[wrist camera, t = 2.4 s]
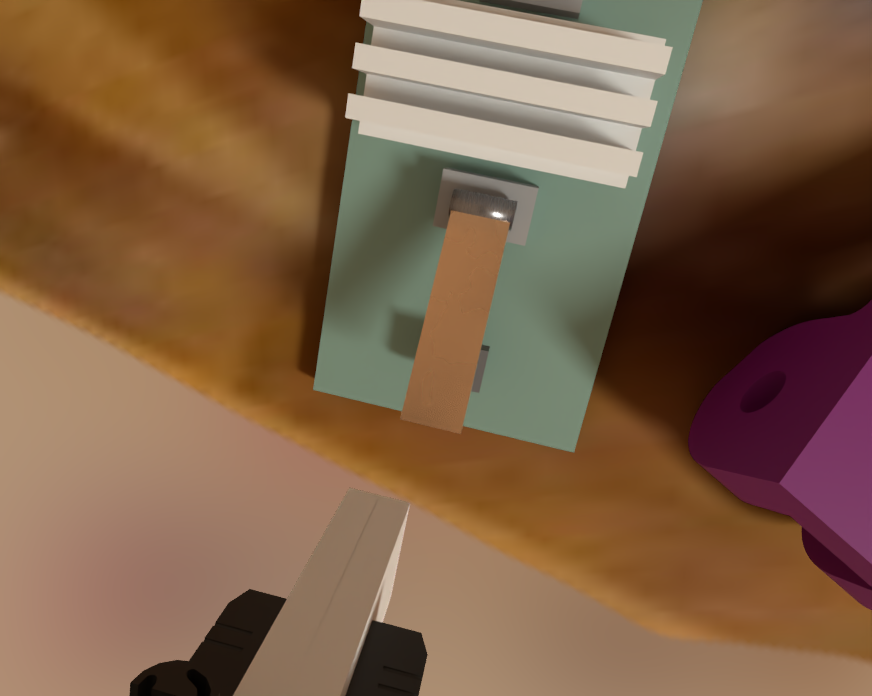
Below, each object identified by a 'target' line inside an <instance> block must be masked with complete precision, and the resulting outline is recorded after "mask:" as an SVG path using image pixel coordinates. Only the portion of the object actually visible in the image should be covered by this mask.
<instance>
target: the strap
mask: <svg viewBox="0 0 872 696" xmlns="http://www.w3.org/2000/svg"><path fill="white" fill-rule="evenodd" d="M517 203H518V201H515V200H510V199H505V198H500V197H496V196H491V195H486V194H481V193H477V192H472V191H467V190H462V189H458V188H454V190H453V193H452V197H451V201H450V206H449V213H448V217H449V222H448V226H447V230H446V234H445V238H444V242H443V246H442V250H441V254H440V258H439V262H438V267H437V271H436V275H435V279H434V283H433V287H432V291H431V295H430V299H429V303H428V307H427V311H426V315H425V319H424V324H423V328H422V332H421V336H420V340H419V344H418V348H417V352H416V356H415V360H414V364H413V368H412V372H411V376H410V381H409V385H408V389H407V393H406V397H405V401H404V405H403V409H402V413H401V417H400V419H401V420H406V421H410V422H414V423H418V424H422V425H426V426H430V427H434V428H439V429H443V430H447V431H451V432H455V433H459V434H461V432H462V428H463V423H464V419H465V415H466V411H467V406H468V402H469V398H470V393H471V389H472V385H473V381H474V376H475V372H476V368H477V364H478V359H479V355H480V351H481V347H482V342H483V338H484V334H485V329H486V325H487V321H488V317H489V312H490V308H491V304H492V300H493V295H494V291H495V287H496V282H497V278H498V274H499V270H500V265H501V261H502V257H503V253H504V248H505V244H506V240H507V236H508V231H509V230H510V231H511V229H512V225H513V221H514V217H515V212H516V208H517Z"/></svg>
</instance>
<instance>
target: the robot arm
mask: <svg viewBox="0 0 872 696" xmlns="http://www.w3.org/2000/svg"><path fill="white" fill-rule="evenodd" d="M409 507H410V503H409V502H405V501H401V500H397V499H393V498H389V497H385V496H381V495H377V494H373V493H369V492H365V491H361V490H357V489H353V488H349V489H348V491H347V493H346V495H345V496H344V498H343V500H342V502H341V504H340V505H339V507H338V509H337V511H336V513H335V514H334V516H333V518H332V520H331V521H330V523H329V525H328V527H327V528H326V530H325V532H324V534H323V536H322V537H321V539H320V541H319V543H318V545H317V546H316V548H315V550H314V552H313V554H312V555H311V557H310V559H309V561H308V562H307V564H306V566H305V568H304V570H303V571H302V573H301V575H300V577H299V578H298V580H297V582H296V584H295V586H294V588H293V589H292V591H291V593H290V595H289V596H288V598H287V599H285V598H281V597H278V596H274V595H270V594H266V593H263V592H259V591H255V590H251V589H249V590H248V591H246V592H245V593H243V594H242V595H240V596H239V597H237V598H236V599H234V600H232V601H231V602H229V603H228V605H227V606H226V608H225V609H224V611H223V612H222V614H221V615H220V616H219V618H218V619H217V621H216V623H215V626H213V627H212V628H211V630H210V631H209V633H208V634H207V635H206V637H205V640H204V642H202V643H201V644H200V646H199V647H198V649H197V650H196V652H195V653H194V655H193V656H192V658H191V659H190V661H181V660H175V661H169V662H164V663H159V664H157V665H155V666H153V667H150V668H148V669H146V670H144V671H143V672H142V673H140V674H139V675H138V676H137V677H136V678H135V679H134V680H133V681H132V682H131V683H130V696H418V695H419V690H420V685H421V681H422V677H423V672H424V667H425V663H426V658H427V652H426V648H425V645H424V641H423V638H422V634H421V633H419V632H416V631H412V630H408V629H404V628H401V627H397V626H393V625H389V624H385V623H383V619H384V617H385V613H386V610H387V607H388V604H389V601H390V598H391V594H392V589H393V584H394V579H395V574H396V570H397V565H398V560H399V555H400V550H401V545H402V540H403V535H404V531H405V526H406V521H407V516H408V511H409Z"/></svg>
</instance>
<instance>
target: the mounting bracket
mask: <svg viewBox="0 0 872 696" xmlns="http://www.w3.org/2000/svg"><path fill="white" fill-rule="evenodd" d="M688 446H689V451H690V454H691V456H692V457H693V459H694V460H695V461H696V462H697V463H698V464H700V465H701V466H702V467H703V468H704V469H705V470H707V471H708V472H709V473H710V474H711V475H712V476H713V477H715V478H716V479H717V480H718V481H719V482H720V483H722V484H723V485H724V486H725V487H726V488H727V489H728V490H730V491H731V492H732V493H733V494H734V495H735V496H737V497H738V498H739V499H740V500H742V501H744V502H746V503H749V504H752V505H755V506H758V507H762V508H765V509H768V510H772V511H775V512H778V513H782V514H785V515H789V516H791V517H792V518H793V519H794V520H795V521H796V522H797V523H799V524H800V525H801V526H802V540H803V545H804V548H805V551H806V553H807V555H808V556H809V558H810V559H811V560H812V562H813V563H814V564H815V565H816V566H817V567H819V568H820V569H821V570H822V571H823V572H824V573H825V574H827V575H828V576H829V577H830V578H831V579H832V580H834V581H835V582H836V583H837V584H838V585H839V586H840V587H842V588H843V589H844V590H845V591H846V592H847V593H849V594H850V595H851V596H852V597H853V598H854V599H855V600H857V601H858V602H859V603H860V604H862V605H863V606H865V607H866V608H868V609H870V610H872V299H871V301H870V302H869V303H868V304H867V305H865V306H864V307H863V308H862V309H860V310H859V311H857V312H855V313H853V314H850V315H846V316H839V317H831V318H823V319H816V320H810V321H806V322H803V323H800V324H797V325H794V326H792V327H789V328H787V329H785V330H783V331H781V332H779V333H777V334H775V335H773V336H772V337H770V338H768V339H767V340H765V341H764V342H762V343H761V344H760V345H758V346H757V347H756V348H755V349H754V350H753V351H752V352H751V353H750V354H749V355H747V356H746V357H745V358H744V359H743V360H742V361H741V362H740V363H739V364H737V365H736V366H735V367H734V368H733V369H732V370H731V371H730V372H729V373H728V374H726V375H725V376H724V377H723V378H722V379H721V380H720V381H719V382H718V383H716V385H715V386H714V387H713V388H712V390H711V391H710V392H709V394H708V395H707V396H706V398H705V399H704V401H703V402H702V404H701V406H700V407H699V409H698V411H697V413H696V415H695V417H694V420H693V422H692V425H691V428H690V432H689V439H688Z"/></svg>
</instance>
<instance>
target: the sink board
mask: <svg viewBox="0 0 872 696" xmlns="http://www.w3.org/2000/svg"><path fill="white" fill-rule="evenodd" d="M702 2H703V0H362V1H361V8H360V15H359V16H360V17H361V18H363V19H364V20H366V27H365V34H364V41H363V44H361V43H355V50H354V57H353V65H352V68H353V69H356V70H358V71H359V76H358V83H357V90H356V95H355V94H350V93H348V100H347V107H346V114H345V118H349V119H352V124H351V131H350V138H349V145H348V152H347V159H346V166H345V173H344V180H343V187H342V194H341V201H340V208H339V215H338V222H337V229H336V235H335V242H334V249H333V256H332V263H331V270H330V277H329V284H328V291H327V298H326V305H325V312H324V319H323V326H322V333H321V340H320V347H319V353H318V360H317V367H316V374H315V381H314V388H313V390H316V391H321V392H325V393H329V394H333V395H337V396H341V397H346V398H350V399H354V400H358V401H362V402H366V403H370V404H375V405H379V406H383V407H387V408H391V409H395V410H399V411H402V409H403V405H404V401H405V397H406V393H407V389H408V385H409V381H410V376H411V372H412V368H413V364H414V360H415V356H416V352H417V348H418V344H419V340H420V336H421V332H422V328H423V324H424V319H425V315H426V311H427V307H428V303H429V299H430V295H431V291H432V287H433V283H434V279H435V275H436V271H437V267H438V262H439V258H440V254H441V250H442V246H443V242H444V238H445V234H446V230H447V226H448V222H449V217H448V213H449V206H450V201H451V197H452V193H453V190H454V188H458V189H462V190H467V191H472V192H477V193H481V194H486V195H491V196H496V197H500V198H505V199H510V200H515V201H518V203H517V208H516V212H515V217H514V221H513V225H512V229H511V231H510V230H509V231H508V236H507V240H506V244H505V248H504V253H503V257H502V261H501V265H500V270H499V274H498V278H497V282H496V287H495V291H494V295H493V300H492V304H491V308H490V312H489V317H488V321H487V325H486V329H485V334H484V338H483V342H482V347H481V351H480V355H479V359H478V364H477V368H476V372H475V376H474V381H473V385H472V389H471V393H470V398H469V402H468V406H467V411H466V415H465V419H464V423H463V426H466V427H470V428H474V429H478V430H482V431H487V432H491V433H495V434H499V435H503V436H507V437H512V438H516V439H520V440H524V441H528V442H532V443H536V444H541V445H545V446H549V447H553V448H557V449H561V450H565V451H570V452H574V450H575V447H576V443H577V440H578V436H579V433H580V429H581V426H582V422H583V419H584V415H585V412H586V408H587V405H588V401H589V398H590V394H591V391H592V387H593V383H594V380H595V376H596V373H597V369H598V366H599V362H600V359H601V355H602V352H603V348H604V345H605V341H606V338H607V334H608V331H609V327H610V324H611V320H612V317H613V313H614V310H615V306H616V303H617V299H618V296H619V292H620V289H621V285H622V282H623V278H624V275H625V271H626V268H627V264H628V261H629V257H630V254H631V250H632V247H633V243H634V240H635V236H636V233H637V229H638V226H639V222H640V219H641V215H642V212H643V208H644V205H645V201H646V198H647V194H648V191H649V187H650V184H651V180H652V177H653V173H654V170H655V166H656V163H657V159H658V156H659V152H660V149H661V145H662V142H663V138H664V135H665V131H666V128H667V124H668V121H669V117H670V114H671V110H672V107H673V103H674V100H675V96H676V93H677V89H678V86H679V82H680V79H681V75H682V72H683V68H684V65H685V61H686V58H687V54H688V51H689V47H690V44H691V40H692V37H693V33H694V30H695V26H696V23H697V19H698V16H699V12H700V9H701V5H702Z"/></svg>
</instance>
